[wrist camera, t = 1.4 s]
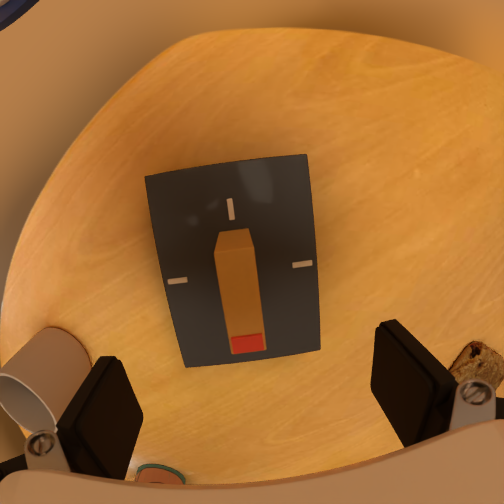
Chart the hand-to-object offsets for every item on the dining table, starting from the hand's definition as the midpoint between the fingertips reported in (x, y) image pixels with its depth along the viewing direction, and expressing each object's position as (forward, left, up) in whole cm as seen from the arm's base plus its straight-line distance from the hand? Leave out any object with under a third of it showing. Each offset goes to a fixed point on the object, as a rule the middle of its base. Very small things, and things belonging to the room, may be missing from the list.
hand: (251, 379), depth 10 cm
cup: (+9, -19, -15) cm, 26 cm away
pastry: (+23, +27, -15) cm, 38 cm away
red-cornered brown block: (0, 0, -11) cm, 11 cm away
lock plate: (0, 0, -15) cm, 15 cm away
